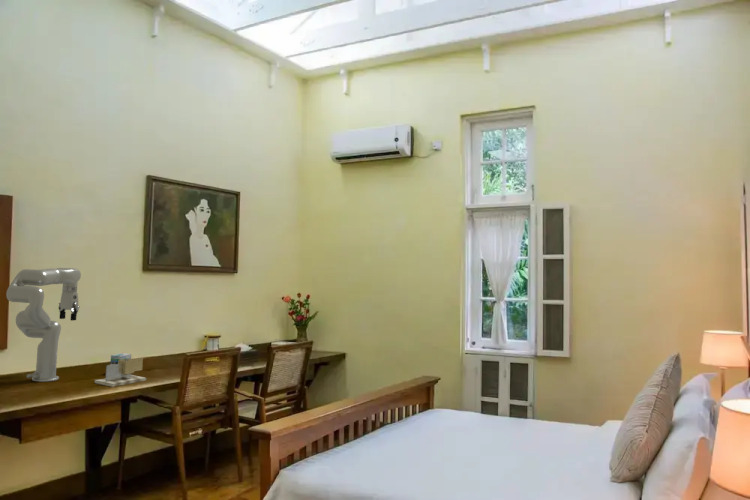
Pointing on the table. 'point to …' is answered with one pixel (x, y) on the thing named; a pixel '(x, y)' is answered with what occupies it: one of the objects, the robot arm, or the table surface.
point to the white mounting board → (121, 381)
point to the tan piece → (131, 365)
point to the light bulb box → (119, 357)
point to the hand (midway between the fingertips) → (67, 319)
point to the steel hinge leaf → (115, 372)
